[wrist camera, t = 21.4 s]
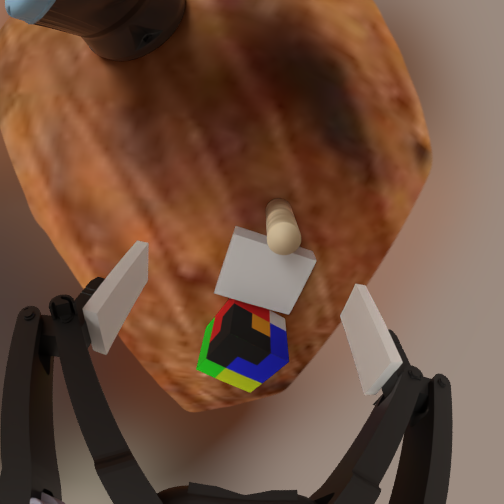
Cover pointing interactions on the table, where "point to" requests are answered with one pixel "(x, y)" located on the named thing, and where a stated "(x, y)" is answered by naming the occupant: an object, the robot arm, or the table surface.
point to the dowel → (281, 227)
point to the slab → (263, 272)
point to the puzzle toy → (244, 345)
